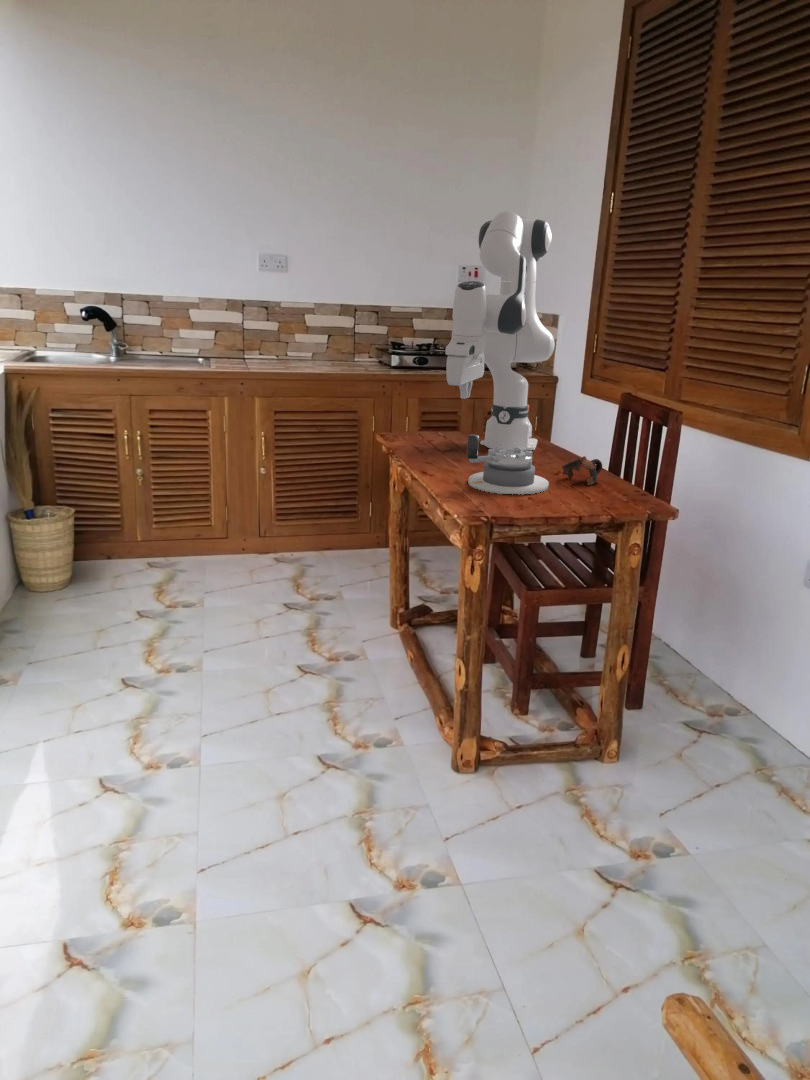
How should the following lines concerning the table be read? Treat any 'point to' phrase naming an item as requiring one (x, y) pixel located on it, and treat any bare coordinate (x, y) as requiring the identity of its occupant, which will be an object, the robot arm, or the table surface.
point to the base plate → (508, 490)
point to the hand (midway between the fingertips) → (465, 398)
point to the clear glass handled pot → (499, 456)
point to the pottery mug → (587, 464)
